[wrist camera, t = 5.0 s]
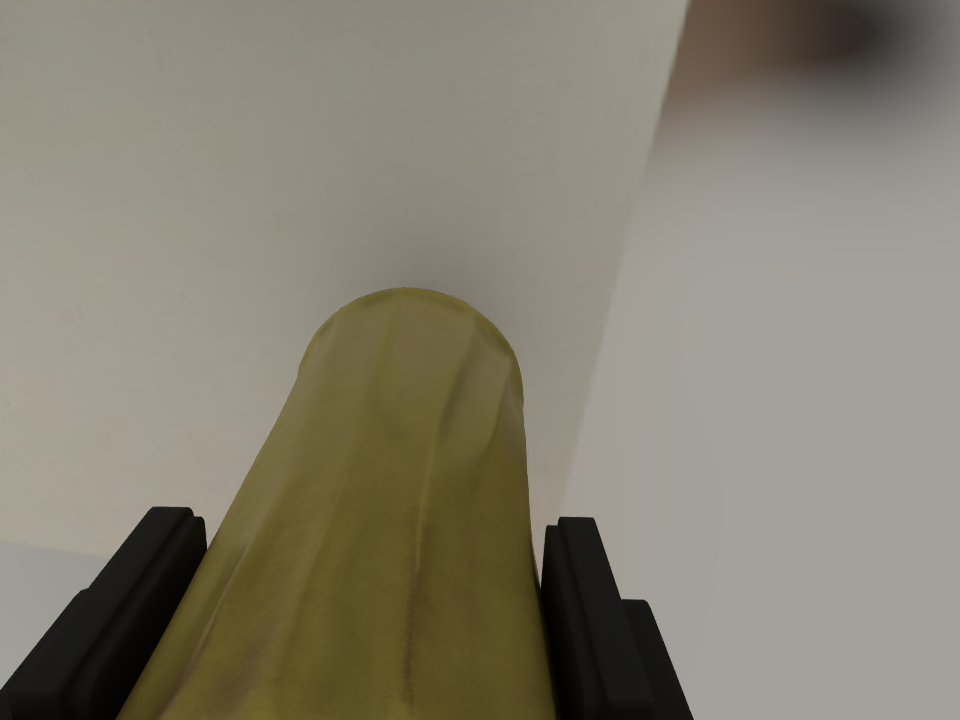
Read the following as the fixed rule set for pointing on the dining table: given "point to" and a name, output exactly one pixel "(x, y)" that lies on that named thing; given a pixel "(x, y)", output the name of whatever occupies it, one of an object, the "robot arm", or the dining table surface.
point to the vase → (373, 541)
